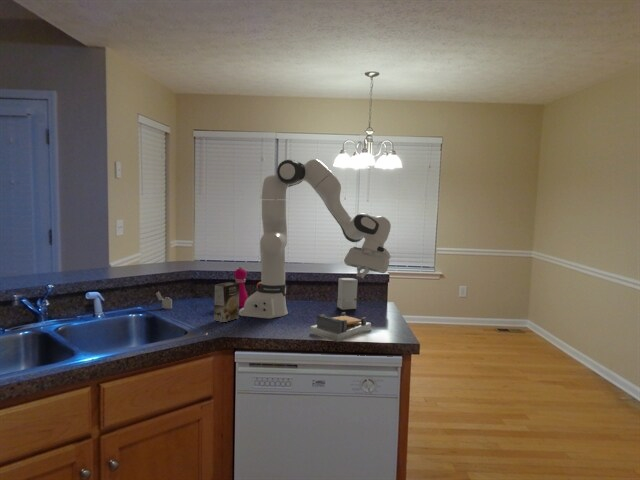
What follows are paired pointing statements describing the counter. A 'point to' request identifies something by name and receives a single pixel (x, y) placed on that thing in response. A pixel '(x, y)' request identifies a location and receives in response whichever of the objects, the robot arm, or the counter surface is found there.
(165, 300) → the lighter
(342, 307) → the skincare box
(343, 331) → the grey and white fixture
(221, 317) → the coffee box
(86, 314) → the counter surface
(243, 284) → the pepper mill
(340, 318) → the tan flat panel
